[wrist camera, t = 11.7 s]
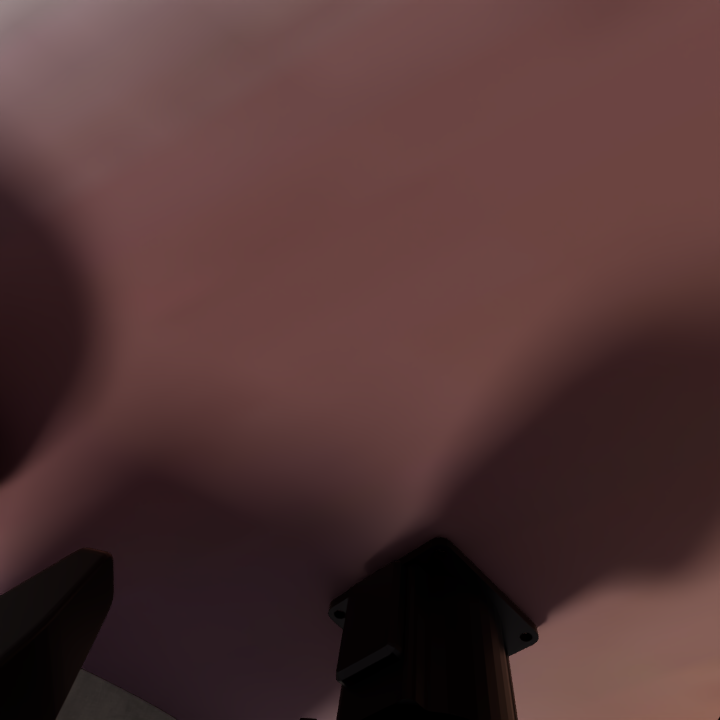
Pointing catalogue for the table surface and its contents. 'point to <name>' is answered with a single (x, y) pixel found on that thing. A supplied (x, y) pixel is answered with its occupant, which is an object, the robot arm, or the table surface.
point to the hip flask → (105, 702)
